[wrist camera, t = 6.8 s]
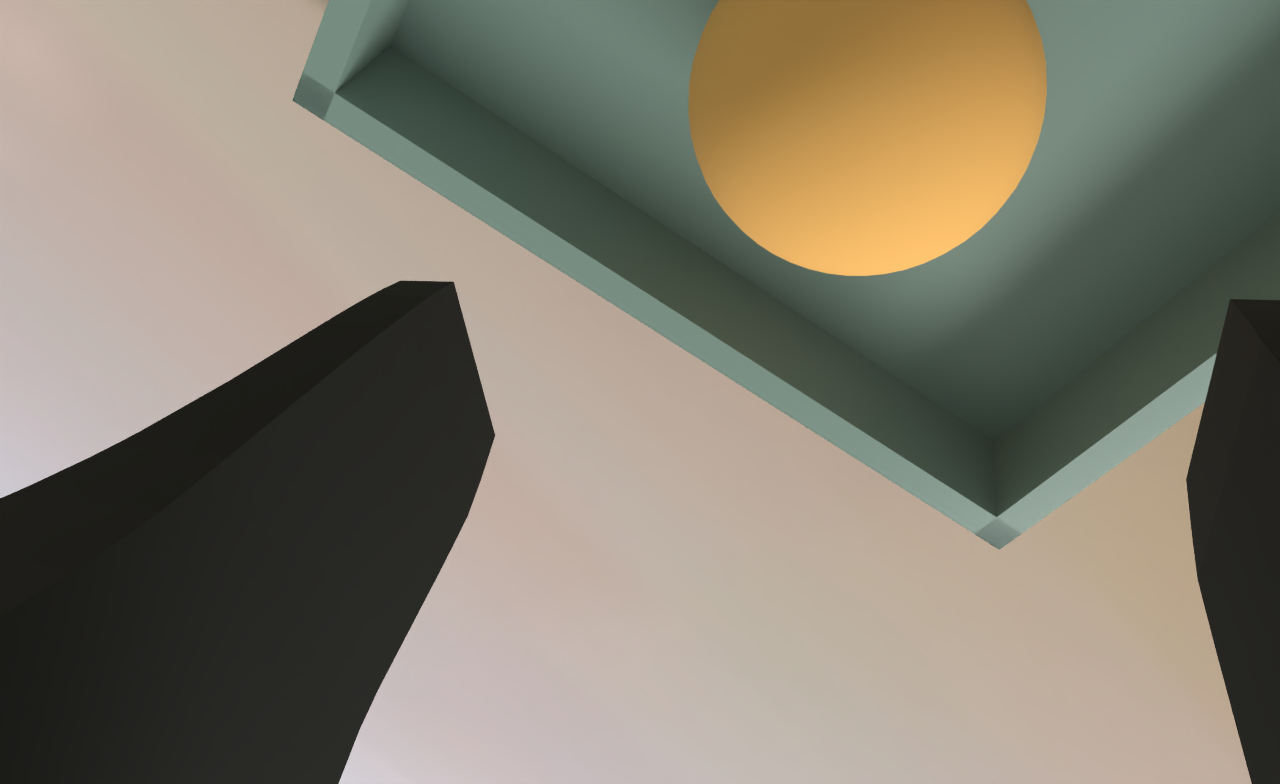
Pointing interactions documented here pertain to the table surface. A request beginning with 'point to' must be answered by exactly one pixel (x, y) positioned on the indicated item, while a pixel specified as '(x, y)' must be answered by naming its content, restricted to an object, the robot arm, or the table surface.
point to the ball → (865, 123)
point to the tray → (877, 304)
